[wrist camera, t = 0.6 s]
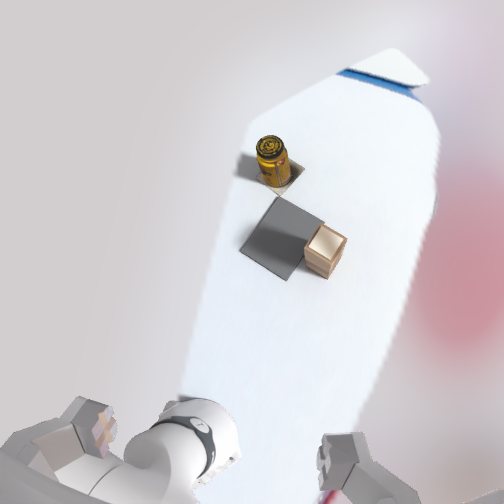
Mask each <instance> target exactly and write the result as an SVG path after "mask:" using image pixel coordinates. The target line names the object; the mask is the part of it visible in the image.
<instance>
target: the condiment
mask: <svg viewBox="0 0 504 504" xmlns="http://www.w3.org/2000/svg"><path fill="white" fill-rule="evenodd" d="M256 151H257V160H258V163H259V166H260V169H261V173H260V174H259V175H258V176H257V177H255V178H256V179H258V180H259V181H260V182H262V183H263V184H264V185H266V186H267V187H269V188H270V189H271V190H273V191H274V192H276V193H277V194H278V195H280V196H281V195H282V194H283V193H284V192H285V191H286V190H287V188H288V187H289V186H290V185H291V184H292V183H293V182H294V181H295V179H296V178H297V177H298V176H299V175H300V174H301V173H302V172H303V171H304V170H305V168H304V167H302V166H300V165H299V164H297V163H296V162H294V161H293V160H291V159H290V158H288V154H287V150H286V148H285V147H284V143H283V141H282V140H281V139H280V138H278V137H277V136H274V135H268V136H265V137H263V138H261V139H260V140H259V141H258V142H257V145H256Z"/></svg>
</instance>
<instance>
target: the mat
mask: <svg viewBox="0 0 504 504" xmlns="http://www.w3.org/2000/svg"><path fill="white" fill-rule="evenodd" d="M320 223H322V224H324V223H325V222H324V221H322V220H320V219H318V218H317V217H315V216H313V215H312V214H310V213H308V212H306V211H305V210H303V209H301V208H299V207H297V206H296V205H294V204H292V203H290V202H289V201H287V200H285V199H283V198H281V197H280V196H279V197H278V199H277V200H276V201H275V203H274V204H273V206H272V207H271V209H270V210H269V211H268V213H267V214H266V216H265V217H264V219H263V220H262V221H261V223H260V224H259V226H258V227H257V229H256V230H255V231H254V233H253V234H252V236H251V237H250V239H249V240H248V241H247V243H246V244H245V246H244V247H243V249H242V250H241V252H242V253H244V254H246V255H247V256H249V257H250V258H252V259H253V260H255V261H256V262H258V263H259V264H261V265H263V266H264V267H266V268H267V269H269V270H270V271H272V272H273V273H275V274H276V275H278V276H280V277H281V278H283V279H284V280H286V281H287V280H288V278H289V277H290V275H291V274H292V272H293V271H294V269H295V268H296V266H297V265H298V263H299V262H300V260H301V259H302V257H303V256H304V254H305V253H304V248H305V246H306V244H307V243H308V241H309V240H310V238H311V237H312V235H313V234H314V232H315V231H316V229H317V228H318V226H319V224H320Z"/></svg>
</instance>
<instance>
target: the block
mask: <svg viewBox="0 0 504 504" xmlns="http://www.w3.org/2000/svg"><path fill="white" fill-rule="evenodd" d="M346 241H347V238H346V237H344V236H342V235H341V234H339V233H337V232H336V231H334V230H332V229H331V228H329V227H327V226H326V225H324V224H322V223H320V224H319V226H318V228H317V229H316V231H315V232H314V234H313V235H312V237H311V238H310V240H309V241H308V243H307V244H306V246H305V248H304V253H305V263H306V266H307V267H308V268H310V269H311V270H313V271H315V272H316V273H318V274H319V275H321V276H323V277H324V278H326V279H328V278H329V276H330V275H331V273H332V271H333V270H334V268H335V267H336V265H337V263H338V262H339V260H340V259H341V256H342V253H343V250H344V247H345V244H346Z"/></svg>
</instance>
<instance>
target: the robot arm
mask: <svg viewBox="0 0 504 504" xmlns="http://www.w3.org/2000/svg"><path fill="white" fill-rule="evenodd" d="M113 414H114V412H113V409H112V407H111V406H108V405H105V404H102V403H99V402H96V401H93V400H90V399H86V398H83V397H80V396H79V397H76V398H75V400H74V401H73V402H72V403H71V405H70V406H69V407H68V408H67V410H66V411H65V412H64V413H63V415H62V416H61V417H60V418H54V419H52V420H49V421H44V422H41V423H39V424H37V425H35V426H32V427H29V428H26V429H23V430H20V431H17V432H14V433H13V434H12V435H11V436H10V438H9V439H8V440H7V441H6V442H5V443H4V445H3V446H2V447H1V448H0V504H200V503H199V501H198V500H197V499H196V497H195V495H194V493H193V491H192V489H196V488H198V487H199V486H201V485H202V484H206V483H208V482H209V481H210V480H211V479H212V478H213V477H215V476H216V475H218V474H219V473H221V472H222V471H223V470H225V469H226V468H228V467H229V466H231V465H232V464H233V463H235V462H236V461H238V460H239V459H240V458H241V456H242V453H241V450H240V448H239V446H238V442H237V437H238V434H237V428H236V424H235V422H234V420H233V418H232V417H231V415H230V414H229V413H228V412H227V411H226V410H225V409H224V408H223V407H222V406H220V405H218V404H217V403H215V402H212V401H209V400H205V399H193V400H189V401H185V402H179V401H169V402H168V403H167V404H166V406H165V408H164V411H163V413H161V414H160V415H159V420H158V422H156V423H155V424H154V425H153V426H152V427H151V428H150V429H149V430H147V431H145V432H143V433H140V434H138V435H136V436H135V437H134V438H132V439H131V440H130V441H129V443H128V444H127V446H126V448H125V451H124V461H123V460H121V459H120V458H118V457H117V456H115V455H114V454H112V453H111V452H110V451H108V449H109V446H108V443H110V442H112V441H114V439H115V437H116V433H117V423H116V420H115V419H114V418H113V417H112V415H113ZM230 457H232V458H233V459H230ZM317 469H318V470H319V471H320V474H319V477H318V480H319V488H320V491H322V490H341V491H342V492H343V493H344V494H345V495H346V496H347V498H348V499H349V500H350V501H351V502H352V503H353V504H421V501H420V499H419V496H418V493H417V491H416V490H414V489H413V488H411V487H410V486H409V485H407V484H406V483H404V482H403V481H402V480H400V479H399V478H398V477H396V476H395V475H393V474H392V473H391V472H390V471H388V470H387V469H386V468H384V467H383V466H382V465H380V464H379V463H378V462H373V460H372V457H371V454H370V450H369V447H368V444H367V441H366V437H365V434H364V433H363V432H352V433H326V434H324V435H323V437H322V446H320V447H319V449H318V453H317ZM461 504H504V489H503V488H499V489H495V490H493V491H491V492H489V493H486V494H484V495H481V496H479V497H477V498H474V499H471V500H469V501H466V502H463V503H461Z"/></svg>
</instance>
